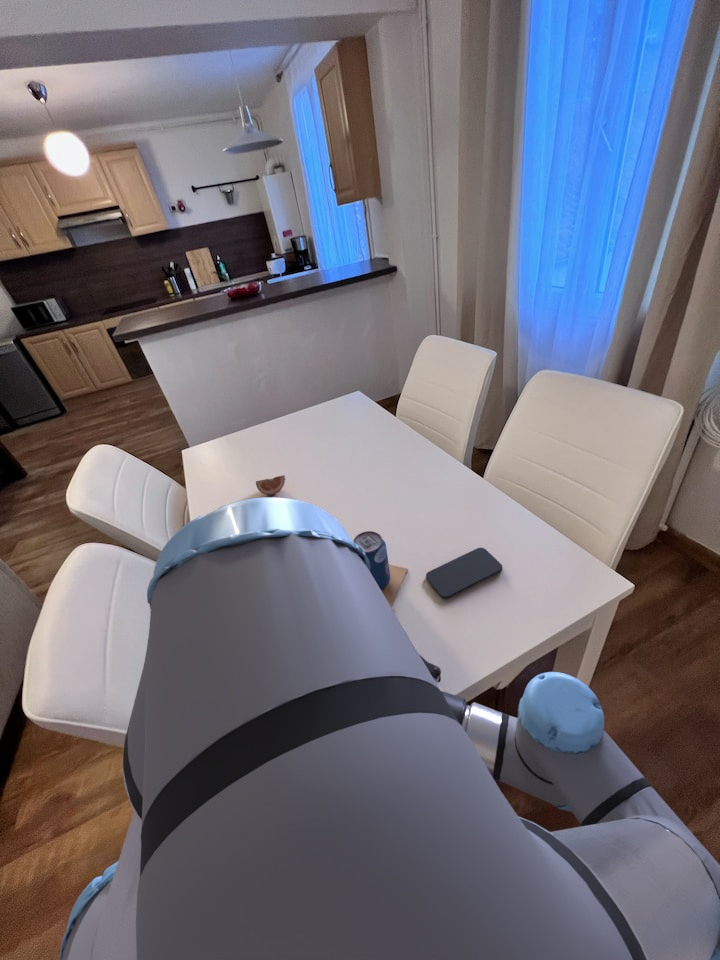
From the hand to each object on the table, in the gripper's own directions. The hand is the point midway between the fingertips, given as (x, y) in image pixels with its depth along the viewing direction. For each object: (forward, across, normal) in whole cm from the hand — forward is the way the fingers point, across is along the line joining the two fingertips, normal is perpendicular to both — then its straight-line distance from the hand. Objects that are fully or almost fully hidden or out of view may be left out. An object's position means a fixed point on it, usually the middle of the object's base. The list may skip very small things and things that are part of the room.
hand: (325, 676), depth 62 cm
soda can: (+3, +25, -8) cm, 26 cm away
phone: (-14, +33, -8) cm, 37 cm away
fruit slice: (+44, +47, -8) cm, 65 cm away
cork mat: (+3, +25, -8) cm, 26 cm away
